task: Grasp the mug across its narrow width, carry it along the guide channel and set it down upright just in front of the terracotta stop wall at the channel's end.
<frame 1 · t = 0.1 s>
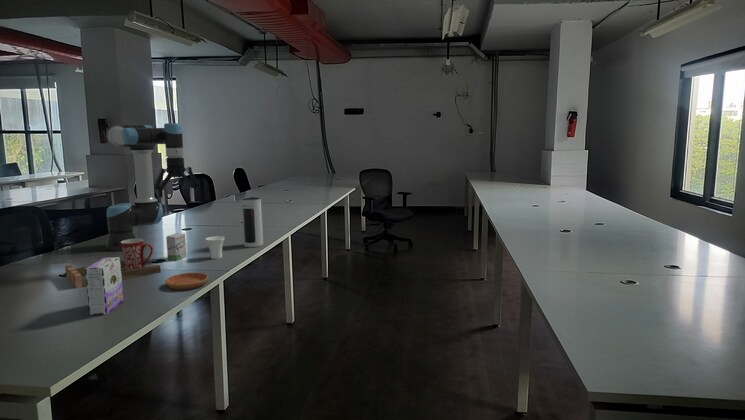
hand: (178, 202, 223), 28 cm above the table, fingers open, 13 cm apart
saucer: (187, 285, 192), on the table
cup: (216, 257, 234), on the table
guide channel: (116, 274, 206), on the table
ink box: (177, 258, 232), on the table
candy box: (107, 308, 166), on the table
mug: (138, 270, 212), on the table
speaker: (253, 245, 259), on the table
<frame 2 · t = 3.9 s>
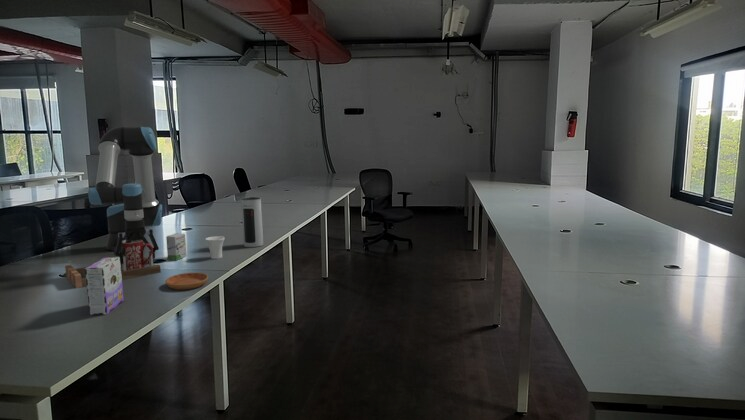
hand: (138, 268, 212), 1 cm above the table, fingers closed on mug, 10 cm apart
mug: (139, 270, 212), on the table, touching gripper
everything else where it was.
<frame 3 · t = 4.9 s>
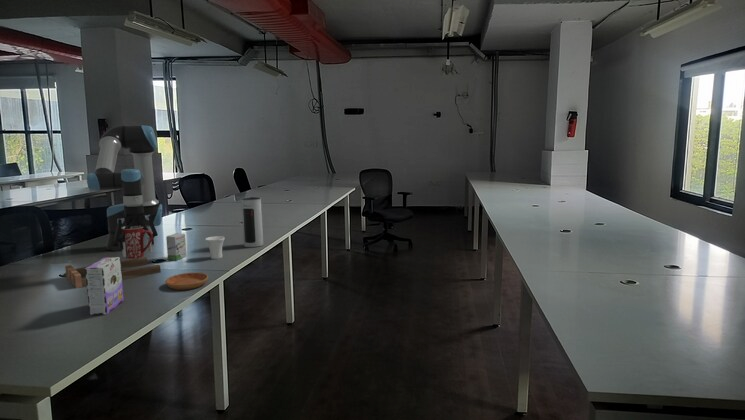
hand: (137, 254, 212), 7 cm above the table, fingers closed on mug, 10 cm apart
mug: (138, 257, 212), point 6 cm above the table, touching gripper
everything else where it was.
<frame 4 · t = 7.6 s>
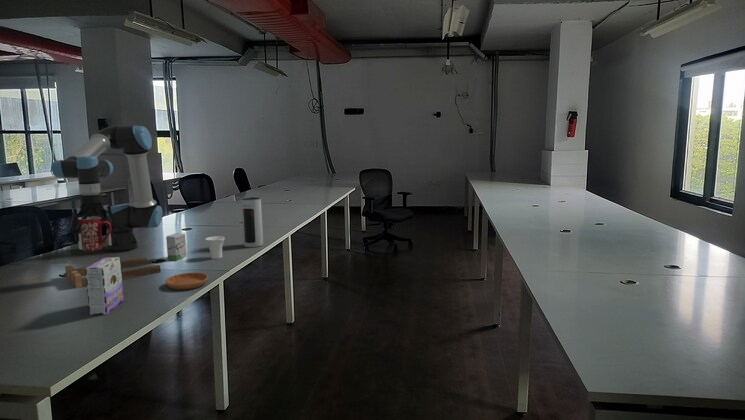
hand: (95, 246, 200), 13 cm above the table, fingers closed on mug, 10 cm apart
mug: (96, 249, 200), point 12 cm above the table, touching gripper
everything else where it was.
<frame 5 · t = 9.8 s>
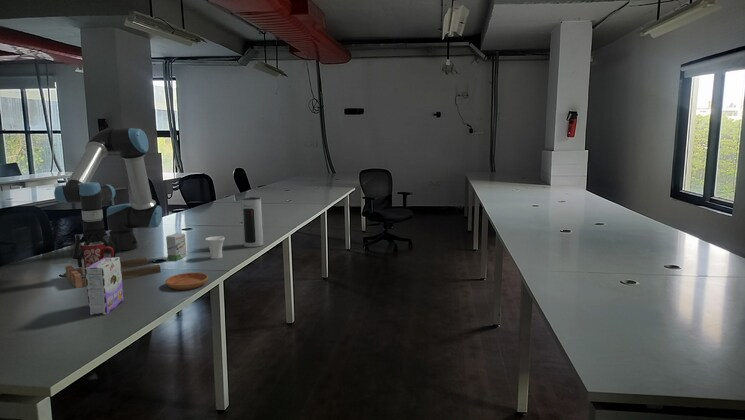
hand: (98, 271, 201), 2 cm above the table, fingers closed on mug, 10 cm apart
mug: (99, 274, 202), point 1 cm above the table, touching gripper
everything else where it was.
when the fingers open (2 cm above the table, at t = 10.4 s): mug drops 1 cm, on the table.
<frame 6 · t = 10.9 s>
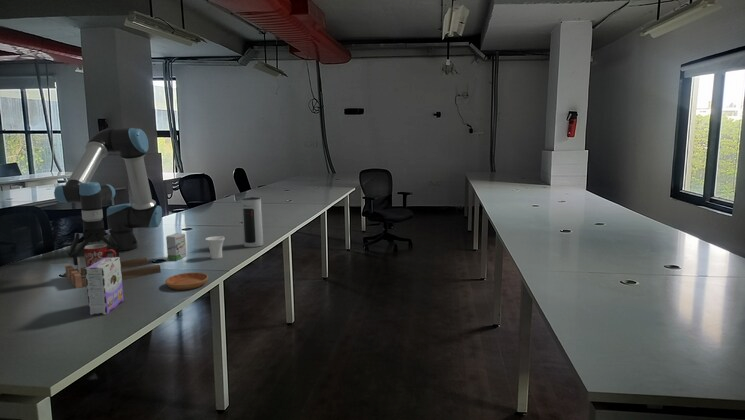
hand: (97, 269, 201), 4 cm above the table, fingers open, 13 cm apart
mug: (102, 277, 202), on the table
everything else where it was.
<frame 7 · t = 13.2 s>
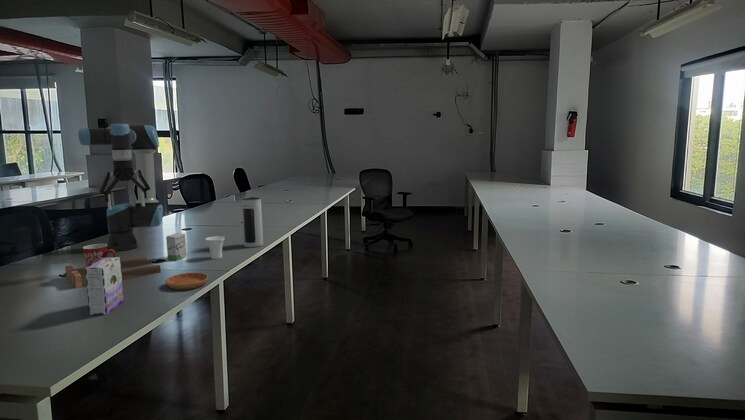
hand: (126, 207, 212), 28 cm above the table, fingers open, 13 cm apart
nothing on the table moved.
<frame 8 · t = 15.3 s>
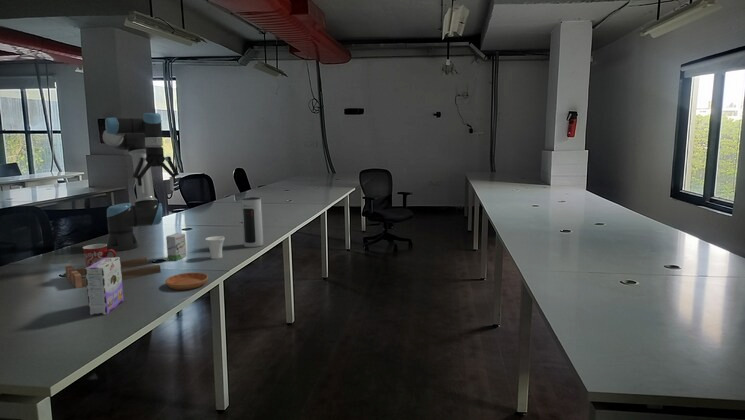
hand: (157, 191, 227), 33 cm above the table, fingers open, 13 cm apart
nothing on the table moved.
at the end: mug inside the target area (3.8 cm from its centre), on the table; mug tilted 0°; mug moved 14.7 cm from its start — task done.
